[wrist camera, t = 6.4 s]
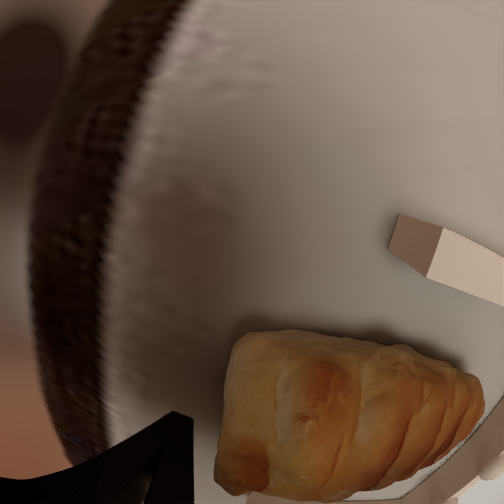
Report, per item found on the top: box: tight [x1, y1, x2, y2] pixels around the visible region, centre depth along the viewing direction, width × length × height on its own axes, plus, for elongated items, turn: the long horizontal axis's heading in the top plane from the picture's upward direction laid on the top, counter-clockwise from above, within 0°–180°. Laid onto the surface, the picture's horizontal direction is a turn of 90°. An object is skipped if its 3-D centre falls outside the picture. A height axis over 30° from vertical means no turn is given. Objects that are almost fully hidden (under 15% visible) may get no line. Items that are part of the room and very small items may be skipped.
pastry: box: [214, 329, 485, 504], centre depth 6 cm, size 9×7×4 cm
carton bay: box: [246, 214, 504, 504], centre depth 6 cm, size 16×11×3 cm
